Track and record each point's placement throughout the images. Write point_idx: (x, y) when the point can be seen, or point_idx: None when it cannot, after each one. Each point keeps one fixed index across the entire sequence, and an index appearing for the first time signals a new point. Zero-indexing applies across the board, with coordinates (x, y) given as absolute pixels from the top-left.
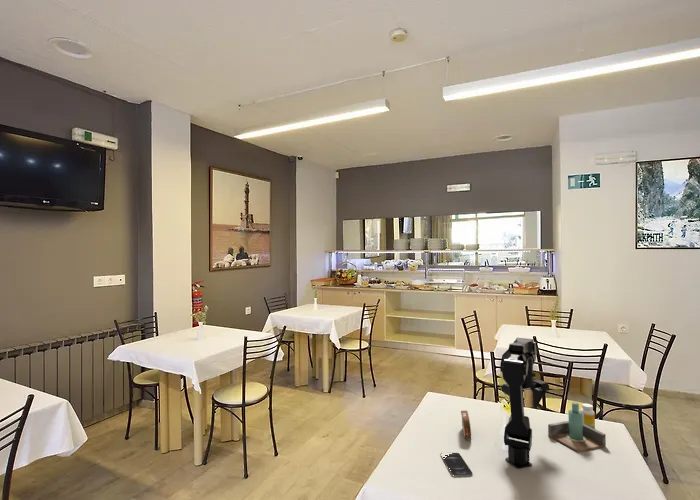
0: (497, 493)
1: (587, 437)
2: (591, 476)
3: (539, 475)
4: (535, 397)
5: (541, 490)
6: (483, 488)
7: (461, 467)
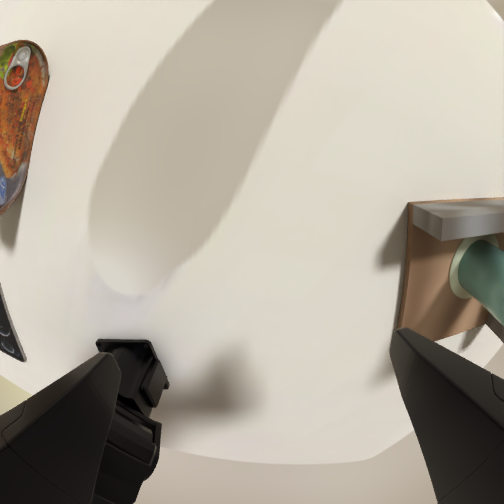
0: None
1: None
2: (307, 434)
3: (169, 413)
4: (453, 443)
5: None
6: None
7: (5, 332)
